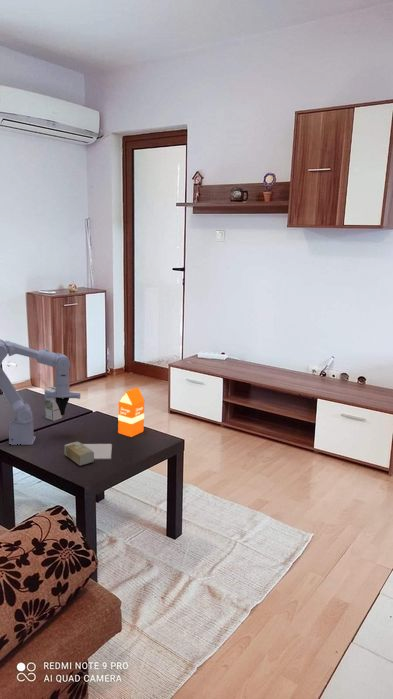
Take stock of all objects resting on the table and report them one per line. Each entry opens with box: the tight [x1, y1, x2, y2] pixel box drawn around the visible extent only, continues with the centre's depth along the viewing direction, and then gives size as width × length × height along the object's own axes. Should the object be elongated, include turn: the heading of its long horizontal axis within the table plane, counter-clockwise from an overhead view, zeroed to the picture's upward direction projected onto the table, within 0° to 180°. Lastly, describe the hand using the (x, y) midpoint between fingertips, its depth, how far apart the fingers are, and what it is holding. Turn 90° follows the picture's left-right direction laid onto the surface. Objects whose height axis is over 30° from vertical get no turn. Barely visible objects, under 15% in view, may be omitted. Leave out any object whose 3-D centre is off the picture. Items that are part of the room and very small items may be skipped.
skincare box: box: [63, 441, 95, 467], centre depth 196 cm, size 6×4×12 cm
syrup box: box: [44, 386, 63, 422], centre depth 236 cm, size 6×6×14 cm
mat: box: [82, 443, 113, 460], centre depth 204 cm, size 14×14×1 cm
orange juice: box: [117, 387, 145, 438], centre depth 224 cm, size 8×9×20 cm
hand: (62, 414), depth 214 cm, fingers closed
